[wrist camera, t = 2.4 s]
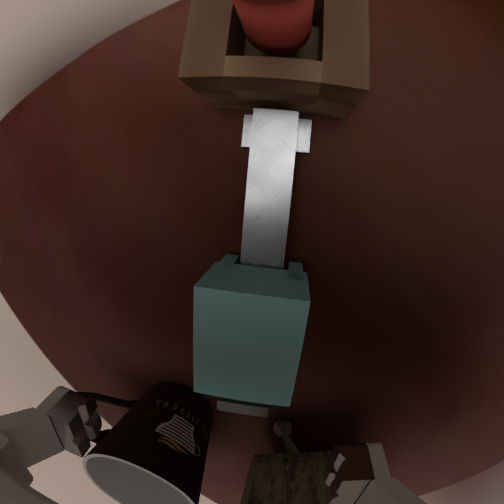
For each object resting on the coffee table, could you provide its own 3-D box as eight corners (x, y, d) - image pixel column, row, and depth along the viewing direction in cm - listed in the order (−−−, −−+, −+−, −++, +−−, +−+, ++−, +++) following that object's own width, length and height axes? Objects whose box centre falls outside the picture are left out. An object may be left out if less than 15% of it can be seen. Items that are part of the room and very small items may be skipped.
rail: (310, 123, 18) (318, 99, 12) (281, 363, 22) (275, 418, 16) (246, 117, 18) (226, 93, 12) (228, 356, 22) (208, 407, 16)
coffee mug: (242, 431, 24) (220, 522, 14) (169, 443, 26) (134, 516, 16) (172, 329, 22) (108, 414, 13) (100, 355, 24) (36, 421, 15)
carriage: (305, 263, 18) (310, 301, 13) (292, 349, 20) (289, 407, 14) (222, 253, 19) (193, 286, 13) (218, 339, 20) (193, 391, 15)
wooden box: (346, 38, 16) (366, -17, 9) (343, 119, 17) (369, 90, 10) (226, 30, 17) (196, -24, 10) (216, 108, 18) (178, 77, 11)
